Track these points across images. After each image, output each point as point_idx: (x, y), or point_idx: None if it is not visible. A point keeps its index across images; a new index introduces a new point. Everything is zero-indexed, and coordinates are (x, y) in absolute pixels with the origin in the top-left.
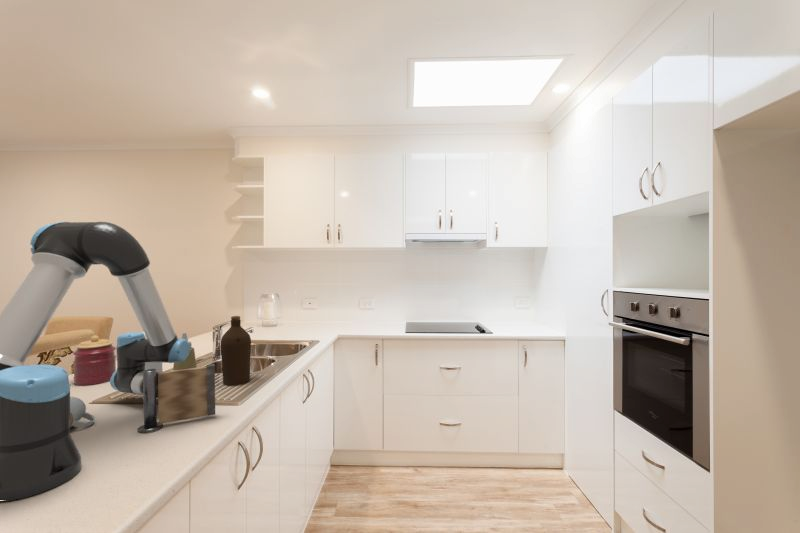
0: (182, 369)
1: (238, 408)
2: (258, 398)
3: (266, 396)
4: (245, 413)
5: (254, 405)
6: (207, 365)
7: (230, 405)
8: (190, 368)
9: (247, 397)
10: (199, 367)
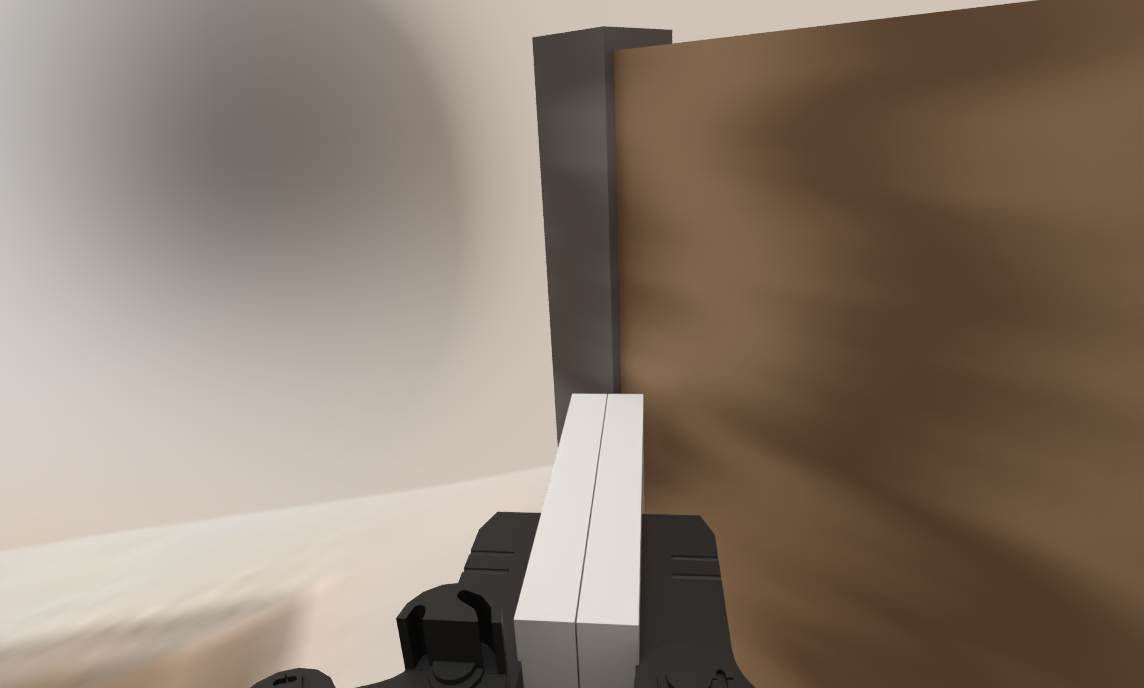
0: (991, 6)
1: (379, 565)
2: (127, 562)
3: (91, 538)
4: (481, 484)
5: (316, 511)
6: (630, 28)
7: (284, 670)
8: (830, 26)
9: (35, 661)
10: (705, 40)
